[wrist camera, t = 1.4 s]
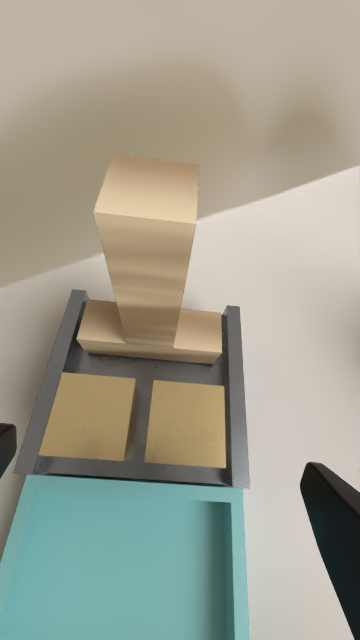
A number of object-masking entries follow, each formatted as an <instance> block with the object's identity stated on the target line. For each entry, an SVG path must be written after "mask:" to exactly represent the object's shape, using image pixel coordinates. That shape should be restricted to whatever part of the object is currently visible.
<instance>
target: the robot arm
mask: <svg viewBox="0 0 360 640" xmlns="http://www.w3.org/2000/svg"><path fill="white" fill-rule="evenodd" d="M16 448H17V440H16V426H15V425H13V424H6V423H0V478H1V477H2V475H3V473H4V472H5V470H6V468H7V467H8V465H9V463H10V462H11V460H12V458H13V457H14V455H15V452H16ZM300 490H301V494H302V497H303V500H304V503H305V507H306V510H307V513H308V516H309V520H310V523H311V526H312V529H313V533H314V536H315V539H316V542H317V545H318V548H319V551H320V554H321V556H322V559H323V562H324V564H325V567H326V569H327V572H328V574H329V577H330V579H331V582H332V584H333V587H334V589H335V592H336V594H337V597H338V599H339V602H340V604H341V607H342V609H343V612H344V614H345V617H346V619H347V622H348V624H349V627H350V629H351V632H352V634H353V637H354V639H355V640H360V492H358V491H357V490H356V489H354V488H353V487H352V486H351V485H349V484H348V483H347V482H345V481H344V480H343V479H341V478H340V477H339V476H338V475H336V474H335V473H334V472H332V471H331V470H330V469H329V468H327V467H326V466H325V465H323V464H321V463H316V462H308V463H307V464H306V466H305V469H304V473H303V476H302V479H301V482H300Z"/></svg>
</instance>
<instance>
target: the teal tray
mask: <svg viewBox="0 0 360 640" xmlns="http://www.w3.org/2000/svg"><path fill="white" fill-rule="evenodd" d="M0 640H250V639H249V617H248V595H247V574H246V552H245V530H244V509H243V489H242V488H233V487H230V486H228V485H226V484H212V483H197V482H181V481H166V480H151V479H136V478H121V477H105V476H90V475H75V474H60V473H45V472H42V473H37V474H27V475H26V479H25V482H24V485H23V489H22V492H21V495H20V499H19V502H18V505H17V509H16V512H15V515H14V519H13V522H12V525H11V529H10V532H9V535H8V538H7V542H6V545H5V548H4V552H3V555H2V558H1V562H0Z"/></svg>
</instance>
